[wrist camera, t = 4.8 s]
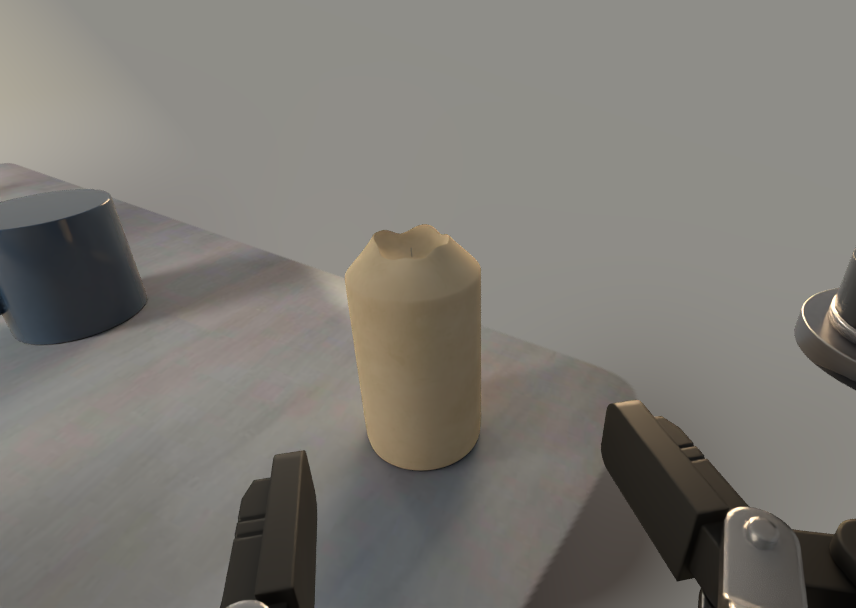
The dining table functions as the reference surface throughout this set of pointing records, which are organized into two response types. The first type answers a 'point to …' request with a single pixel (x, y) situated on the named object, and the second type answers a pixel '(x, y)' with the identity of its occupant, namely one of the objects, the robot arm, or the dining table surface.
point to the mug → (65, 267)
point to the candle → (417, 346)
